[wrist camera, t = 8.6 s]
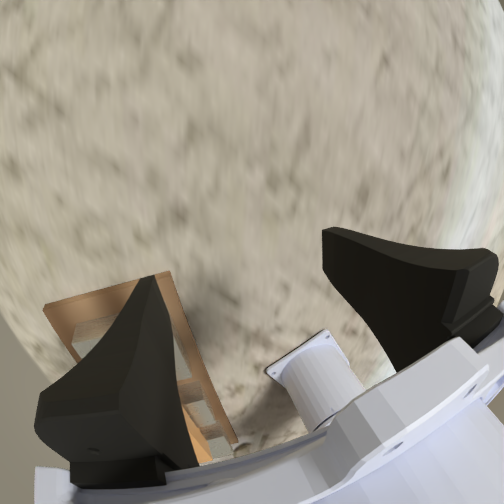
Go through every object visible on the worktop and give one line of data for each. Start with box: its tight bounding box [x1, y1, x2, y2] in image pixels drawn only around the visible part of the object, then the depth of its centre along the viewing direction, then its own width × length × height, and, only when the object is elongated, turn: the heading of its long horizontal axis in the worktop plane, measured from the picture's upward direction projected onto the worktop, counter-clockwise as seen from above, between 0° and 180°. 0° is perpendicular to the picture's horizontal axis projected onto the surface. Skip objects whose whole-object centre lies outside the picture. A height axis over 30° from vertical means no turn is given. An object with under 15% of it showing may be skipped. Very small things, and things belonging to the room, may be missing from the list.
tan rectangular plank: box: [182, 406, 213, 463], centre depth 24 cm, size 4×12×6 cm, turn 8°
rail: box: [71, 301, 234, 459], centre depth 26 cm, size 8×26×2 cm, turn 8°
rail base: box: [43, 271, 238, 444], centre depth 27 cm, size 12×30×1 cm, turn 8°
